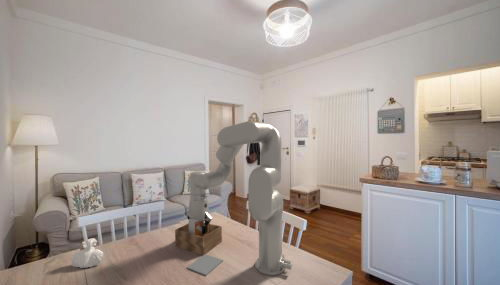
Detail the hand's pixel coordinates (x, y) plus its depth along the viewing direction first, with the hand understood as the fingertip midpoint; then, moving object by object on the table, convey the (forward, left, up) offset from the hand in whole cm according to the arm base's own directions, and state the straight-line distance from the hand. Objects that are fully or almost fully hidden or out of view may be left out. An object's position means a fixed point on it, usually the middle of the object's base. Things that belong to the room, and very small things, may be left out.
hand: (198, 231), depth 107 cm
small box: (0, 0, -7) cm, 7 cm away
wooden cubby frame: (0, 0, -6) cm, 6 cm away
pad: (-15, +12, -6) cm, 20 cm away
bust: (+30, +35, -7) cm, 47 cm away
